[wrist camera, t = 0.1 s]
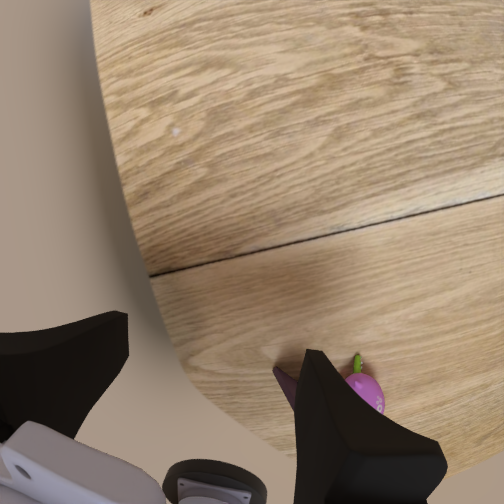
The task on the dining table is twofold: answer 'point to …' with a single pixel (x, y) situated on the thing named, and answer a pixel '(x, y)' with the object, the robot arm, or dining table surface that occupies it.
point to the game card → (358, 381)
